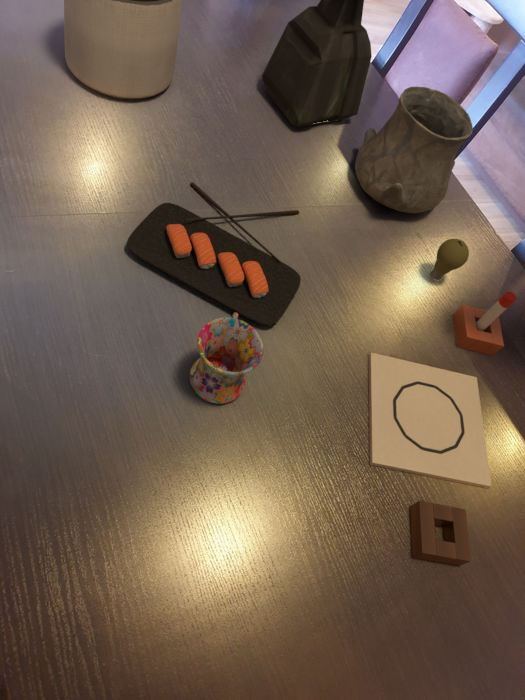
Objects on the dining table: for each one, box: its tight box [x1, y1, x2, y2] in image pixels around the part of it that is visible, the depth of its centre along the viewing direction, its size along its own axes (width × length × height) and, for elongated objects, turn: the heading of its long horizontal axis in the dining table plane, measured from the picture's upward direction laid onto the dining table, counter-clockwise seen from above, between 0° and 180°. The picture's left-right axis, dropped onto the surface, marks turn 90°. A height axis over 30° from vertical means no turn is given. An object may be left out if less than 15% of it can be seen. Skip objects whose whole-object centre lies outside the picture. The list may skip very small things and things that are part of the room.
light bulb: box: [429, 238, 470, 281], centre depth 107 cm, size 6×6×10 cm
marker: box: [476, 290, 517, 331], centre depth 101 cm, size 2×2×12 cm
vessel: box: [354, 86, 474, 214], centre depth 114 cm, size 22×22×20 cm
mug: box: [189, 311, 264, 405], centre depth 83 cm, size 12×9×11 cm
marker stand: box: [409, 500, 472, 566], centre depth 81 cm, size 7×7×3 cm
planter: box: [63, 0, 184, 100], centre depth 112 cm, size 22×22×20 cm
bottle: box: [261, 0, 373, 128], centre depth 118 cm, size 18×16×30 cm
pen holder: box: [452, 304, 505, 357], centre depth 104 cm, size 7×7×4 cm
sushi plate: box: [126, 181, 301, 327], centre depth 101 cm, size 29×30×4 cm
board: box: [368, 352, 492, 489], centre depth 92 cm, size 20×20×1 cm
